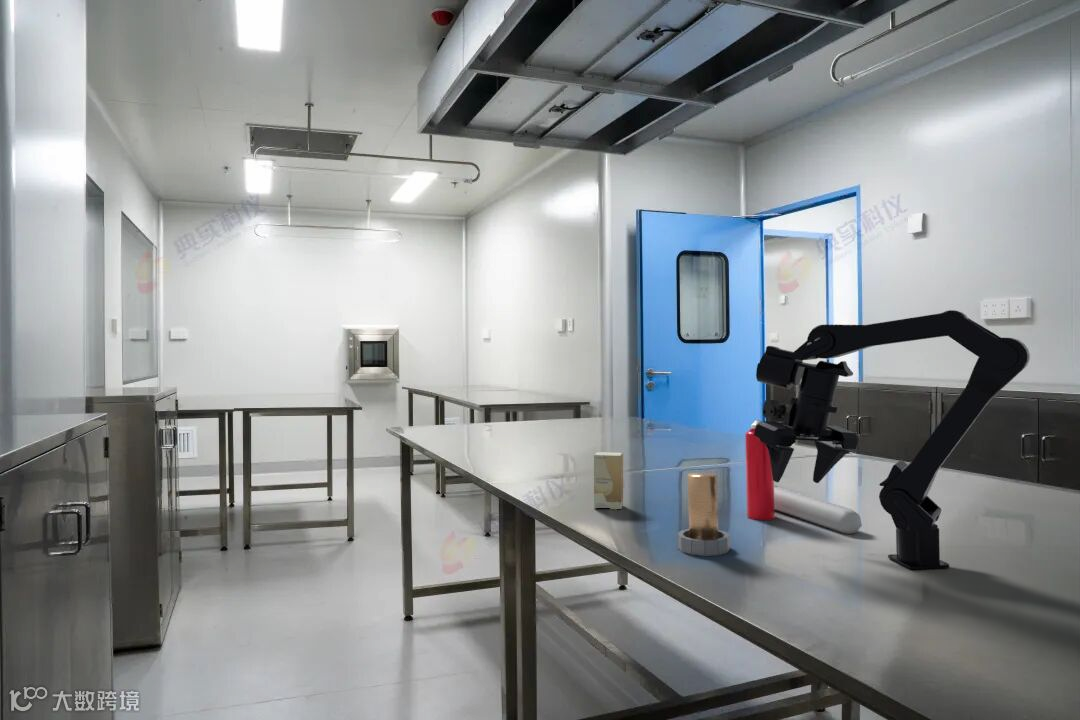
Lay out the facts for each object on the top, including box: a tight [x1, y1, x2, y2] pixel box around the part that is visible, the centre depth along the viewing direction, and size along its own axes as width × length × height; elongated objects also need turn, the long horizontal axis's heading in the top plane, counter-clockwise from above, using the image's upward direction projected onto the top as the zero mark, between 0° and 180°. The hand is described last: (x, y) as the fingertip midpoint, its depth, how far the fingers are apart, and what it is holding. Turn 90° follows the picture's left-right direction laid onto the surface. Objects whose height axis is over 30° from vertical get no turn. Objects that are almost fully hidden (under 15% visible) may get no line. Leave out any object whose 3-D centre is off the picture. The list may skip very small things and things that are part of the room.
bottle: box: [744, 419, 776, 521], centre depth 145 cm, size 5×5×20 cm
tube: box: [774, 484, 862, 535], centre depth 141 cm, size 5×5×25 cm
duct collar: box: [677, 528, 731, 557], centre depth 123 cm, size 9×9×2 cm
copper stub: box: [687, 472, 719, 540], centre depth 123 cm, size 5×5×13 cm
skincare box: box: [593, 451, 624, 510], centre depth 157 cm, size 6×4×12 cm
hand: (796, 481), depth 123 cm, fingers open, 9 cm apart
